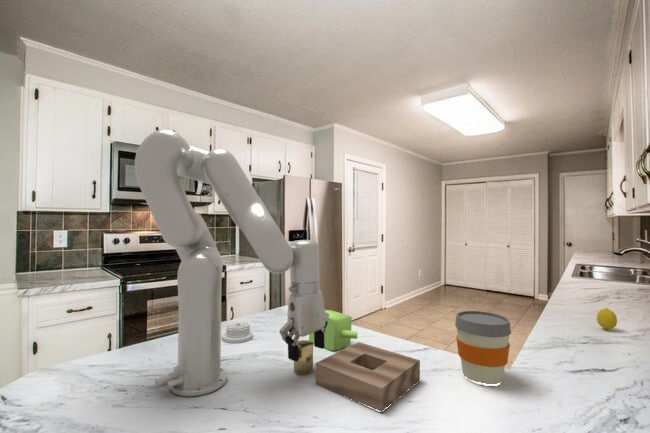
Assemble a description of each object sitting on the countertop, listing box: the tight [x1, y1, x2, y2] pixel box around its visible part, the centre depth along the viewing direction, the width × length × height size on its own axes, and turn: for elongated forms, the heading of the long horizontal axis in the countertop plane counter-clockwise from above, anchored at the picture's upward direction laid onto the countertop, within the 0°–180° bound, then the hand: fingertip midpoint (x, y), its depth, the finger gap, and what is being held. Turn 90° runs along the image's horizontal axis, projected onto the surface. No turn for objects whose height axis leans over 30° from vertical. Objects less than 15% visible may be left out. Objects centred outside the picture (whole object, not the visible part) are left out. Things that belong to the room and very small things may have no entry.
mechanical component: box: [221, 321, 254, 344], centre depth 107 cm, size 10×4×10 cm
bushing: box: [293, 339, 314, 376], centre depth 84 cm, size 5×5×7 cm
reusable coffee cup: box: [454, 310, 512, 384], centre depth 81 cm, size 13×13×15 cm
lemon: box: [596, 307, 618, 331], centre depth 118 cm, size 6×6×8 cm
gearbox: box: [308, 309, 359, 352], centre depth 103 cm, size 18×10×10 cm, turn 46°
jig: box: [315, 341, 421, 412], centre depth 78 cm, size 18×18×5 cm
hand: (307, 353), depth 84 cm, fingers open, 9 cm apart
